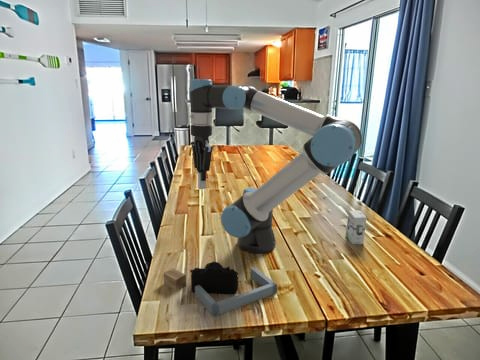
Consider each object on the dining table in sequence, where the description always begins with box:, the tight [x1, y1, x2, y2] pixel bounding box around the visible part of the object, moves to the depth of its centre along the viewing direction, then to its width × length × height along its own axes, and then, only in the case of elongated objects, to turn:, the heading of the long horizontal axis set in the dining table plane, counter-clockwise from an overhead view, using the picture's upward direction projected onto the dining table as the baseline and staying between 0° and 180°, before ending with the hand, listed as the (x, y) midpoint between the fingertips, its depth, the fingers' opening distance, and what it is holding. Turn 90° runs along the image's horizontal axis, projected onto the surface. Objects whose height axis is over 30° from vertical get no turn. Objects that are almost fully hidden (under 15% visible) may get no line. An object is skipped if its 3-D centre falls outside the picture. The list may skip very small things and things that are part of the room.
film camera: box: [189, 261, 239, 296], centre depth 111 cm, size 15×10×9 cm, turn 87°
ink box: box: [345, 209, 367, 245], centre depth 146 cm, size 9×5×12 cm, turn 2°
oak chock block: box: [163, 268, 187, 291], centre depth 112 cm, size 4×6×4 cm, turn 50°
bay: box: [194, 266, 278, 317], centre depth 108 cm, size 22×12×3 cm, turn 123°
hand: (201, 188), depth 131 cm, fingers closed
